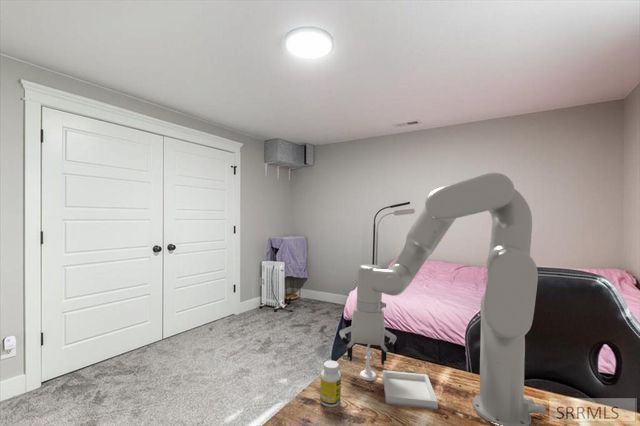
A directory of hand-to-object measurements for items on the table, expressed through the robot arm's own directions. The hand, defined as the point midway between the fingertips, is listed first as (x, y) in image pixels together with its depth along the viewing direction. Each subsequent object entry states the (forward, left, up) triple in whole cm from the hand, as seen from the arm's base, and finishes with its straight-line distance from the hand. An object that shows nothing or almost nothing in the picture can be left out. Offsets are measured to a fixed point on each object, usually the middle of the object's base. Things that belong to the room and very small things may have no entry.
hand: (366, 360), depth 91 cm
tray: (-12, +6, -5) cm, 14 cm away
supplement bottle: (+9, +14, -5) cm, 18 cm away
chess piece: (-1, 0, -5) cm, 5 cm away
